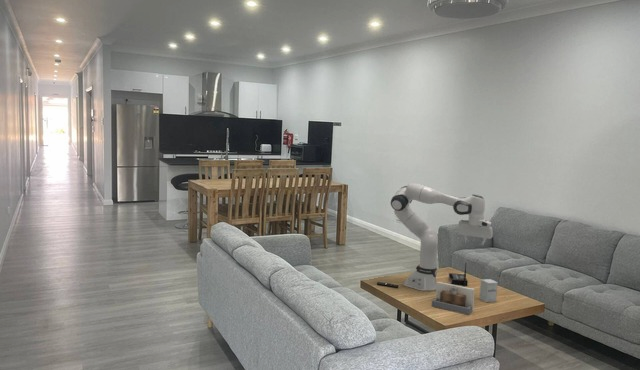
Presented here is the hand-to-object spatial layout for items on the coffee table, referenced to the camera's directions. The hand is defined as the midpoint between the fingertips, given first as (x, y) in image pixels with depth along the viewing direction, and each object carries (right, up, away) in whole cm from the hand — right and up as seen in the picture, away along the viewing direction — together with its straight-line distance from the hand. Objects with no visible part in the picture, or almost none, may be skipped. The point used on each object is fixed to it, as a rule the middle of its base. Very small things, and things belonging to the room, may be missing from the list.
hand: (474, 243), depth 285 cm
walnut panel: (-16, -37, -9) cm, 42 cm away
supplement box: (+11, -37, +7) cm, 39 cm away
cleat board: (-16, -37, -9) cm, 42 cm away
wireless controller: (+2, -33, +42) cm, 53 cm away
